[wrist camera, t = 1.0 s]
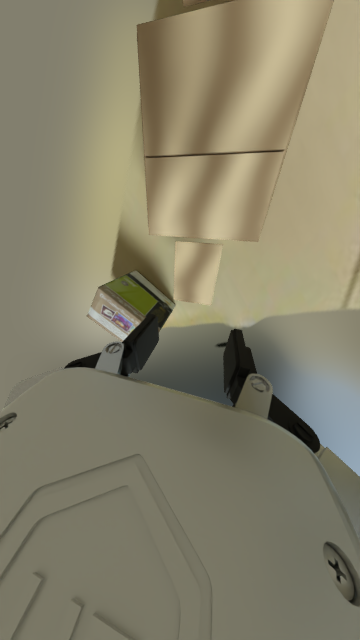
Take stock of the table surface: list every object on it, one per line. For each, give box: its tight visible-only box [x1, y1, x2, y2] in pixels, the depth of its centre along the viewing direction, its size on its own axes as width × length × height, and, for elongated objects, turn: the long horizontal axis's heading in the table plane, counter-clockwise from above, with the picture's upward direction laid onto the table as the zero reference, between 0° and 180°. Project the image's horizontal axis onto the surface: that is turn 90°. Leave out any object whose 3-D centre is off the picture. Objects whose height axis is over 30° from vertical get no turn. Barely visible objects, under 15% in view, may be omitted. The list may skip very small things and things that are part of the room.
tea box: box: [87, 271, 175, 342], centre depth 35 cm, size 15×10×15 cm, turn 50°
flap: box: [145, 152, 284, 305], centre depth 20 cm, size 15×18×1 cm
